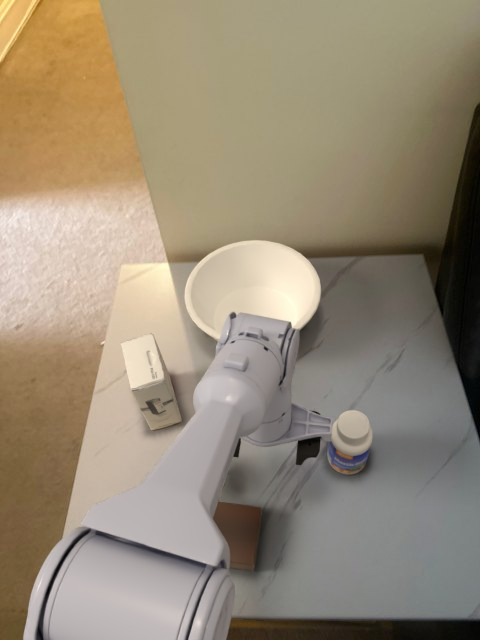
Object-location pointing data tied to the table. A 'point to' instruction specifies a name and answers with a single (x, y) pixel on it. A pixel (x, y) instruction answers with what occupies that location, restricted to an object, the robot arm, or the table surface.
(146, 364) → the ink box
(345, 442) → the pill bottle
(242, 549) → the walnut block
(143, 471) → the table surface
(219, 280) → the bowl
